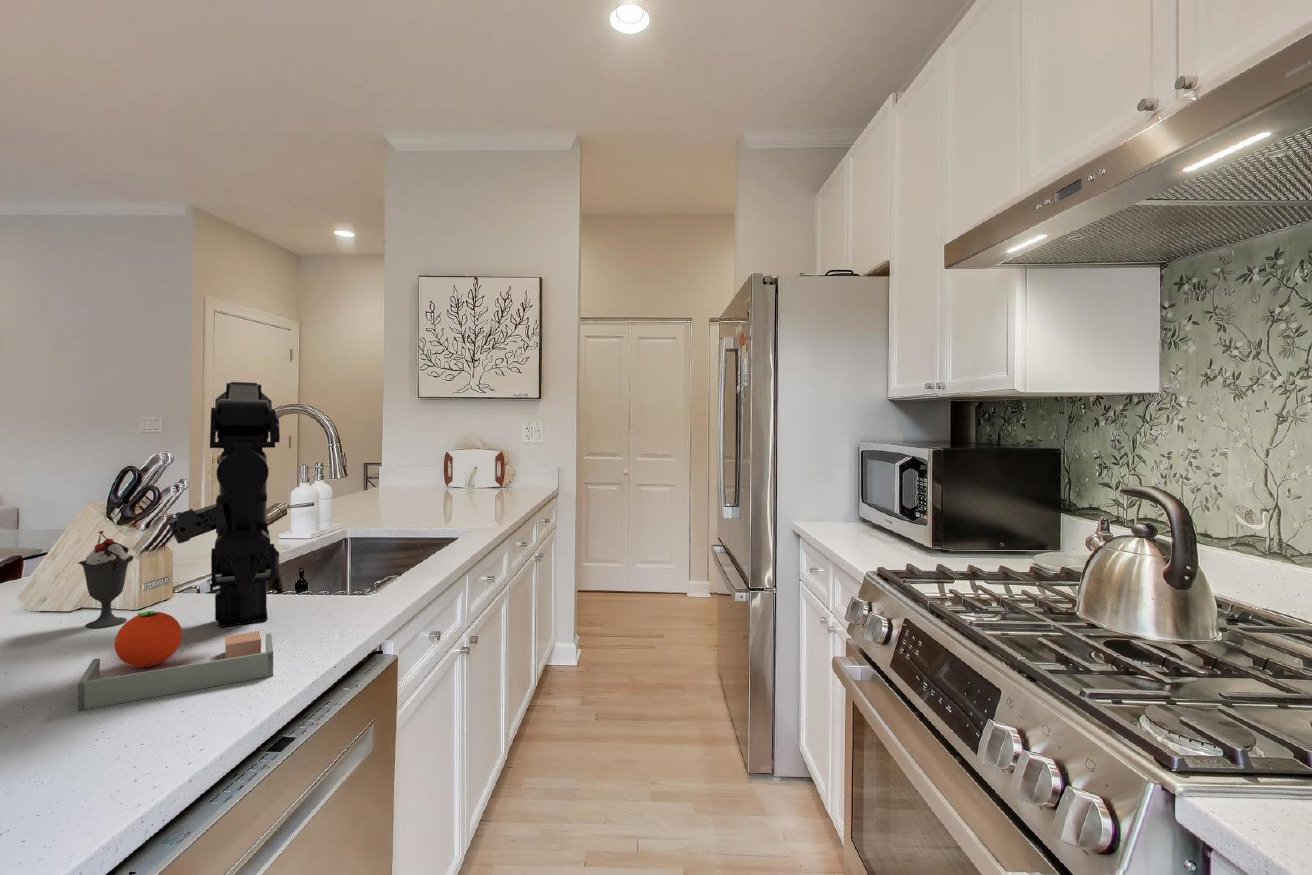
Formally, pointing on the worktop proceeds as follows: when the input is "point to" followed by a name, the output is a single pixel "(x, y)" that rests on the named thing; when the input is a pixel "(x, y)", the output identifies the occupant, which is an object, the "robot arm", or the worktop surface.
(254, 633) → the tile
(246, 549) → the robot arm
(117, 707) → the worktop surface
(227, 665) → the tray
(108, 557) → the sundae
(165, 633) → the clementine
